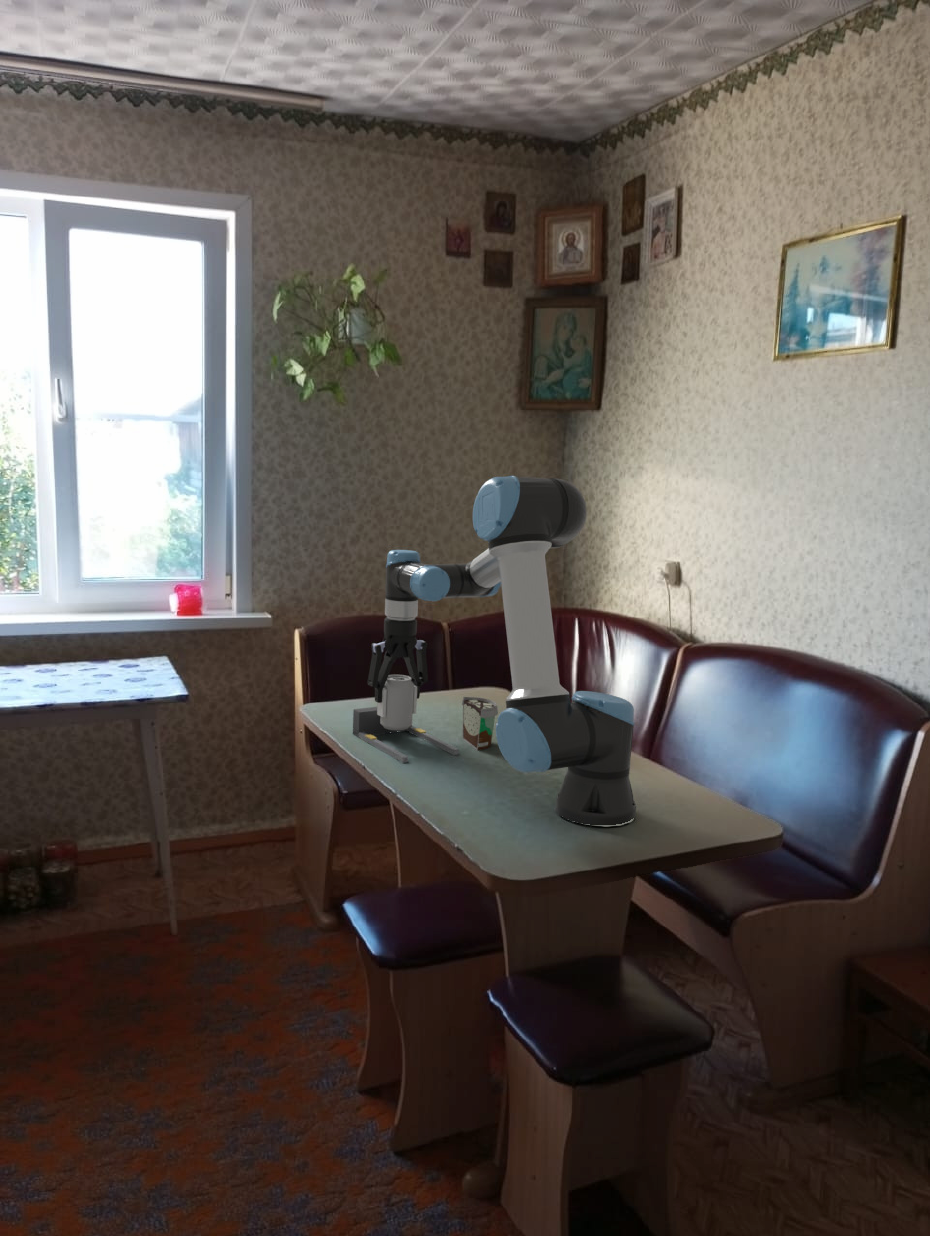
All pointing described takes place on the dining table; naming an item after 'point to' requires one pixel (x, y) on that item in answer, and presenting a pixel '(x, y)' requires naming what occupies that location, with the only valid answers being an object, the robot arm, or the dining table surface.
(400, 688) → the can
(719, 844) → the dining table surface
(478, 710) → the food container
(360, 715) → the guide channel
